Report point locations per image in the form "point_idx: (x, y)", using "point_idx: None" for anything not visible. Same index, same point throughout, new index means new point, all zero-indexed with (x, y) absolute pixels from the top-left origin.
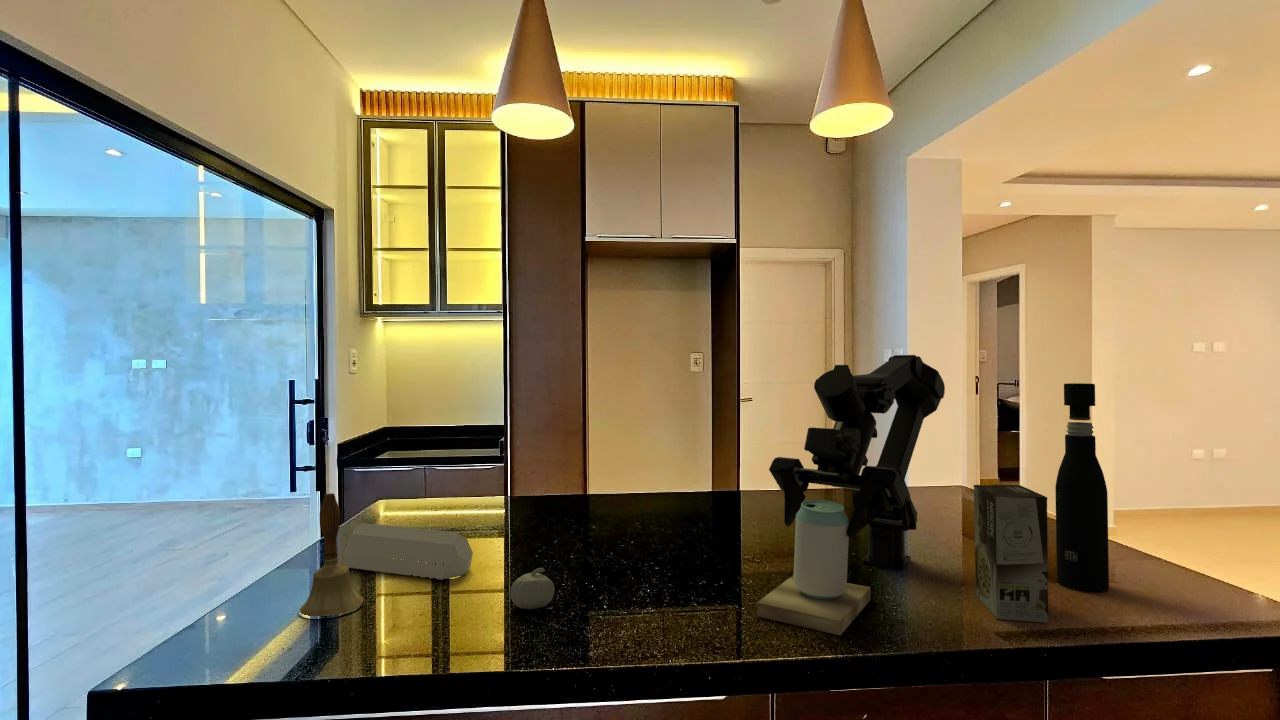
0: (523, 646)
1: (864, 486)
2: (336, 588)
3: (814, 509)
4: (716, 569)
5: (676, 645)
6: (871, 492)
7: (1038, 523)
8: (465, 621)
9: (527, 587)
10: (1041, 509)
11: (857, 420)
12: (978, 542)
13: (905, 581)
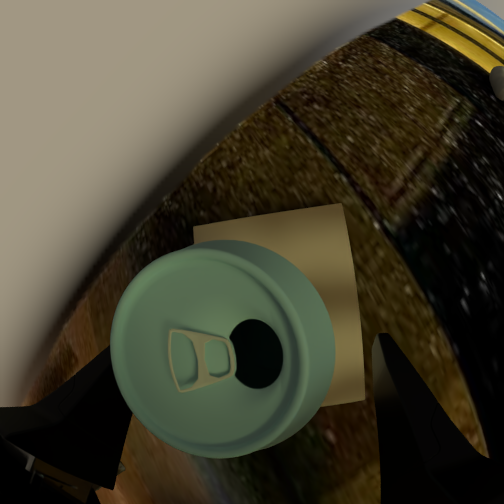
0: (425, 37)
1: (12, 421)
2: None
3: (213, 301)
4: (494, 352)
5: (348, 83)
6: (15, 408)
7: None
8: (485, 56)
9: (497, 66)
10: None
11: None
12: None
13: (211, 493)
